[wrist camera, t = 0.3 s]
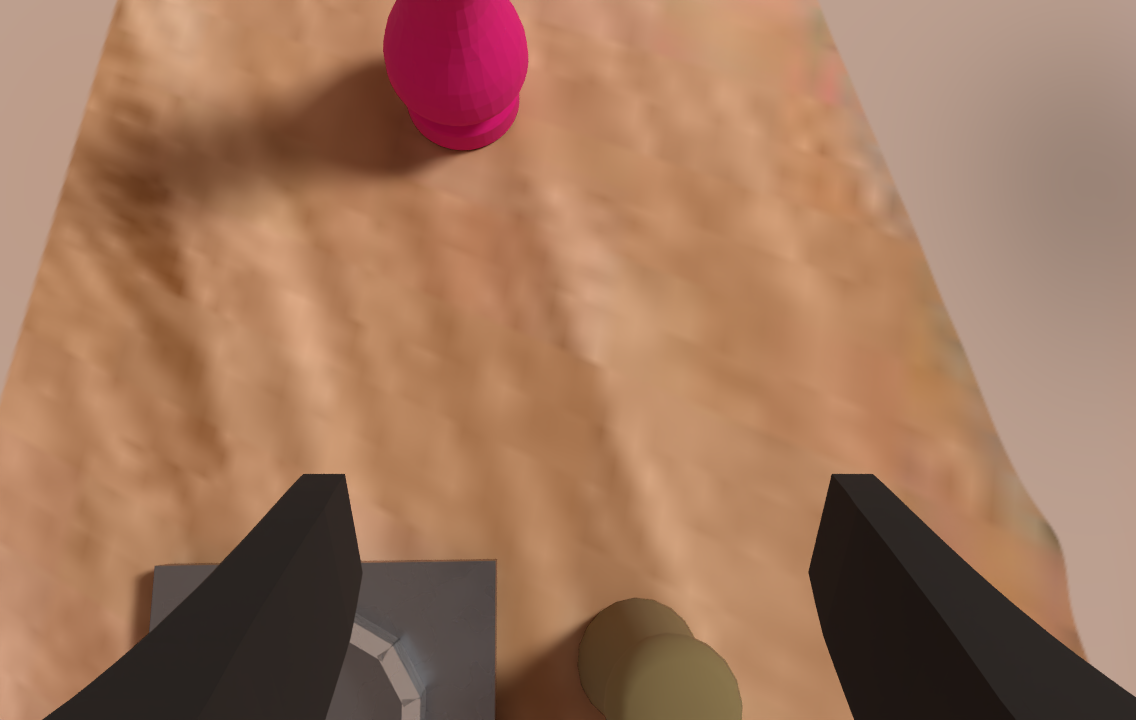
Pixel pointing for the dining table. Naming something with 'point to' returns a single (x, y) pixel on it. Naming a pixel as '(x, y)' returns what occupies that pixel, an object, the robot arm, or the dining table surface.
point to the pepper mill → (457, 67)
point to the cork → (653, 667)
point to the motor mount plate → (399, 638)
